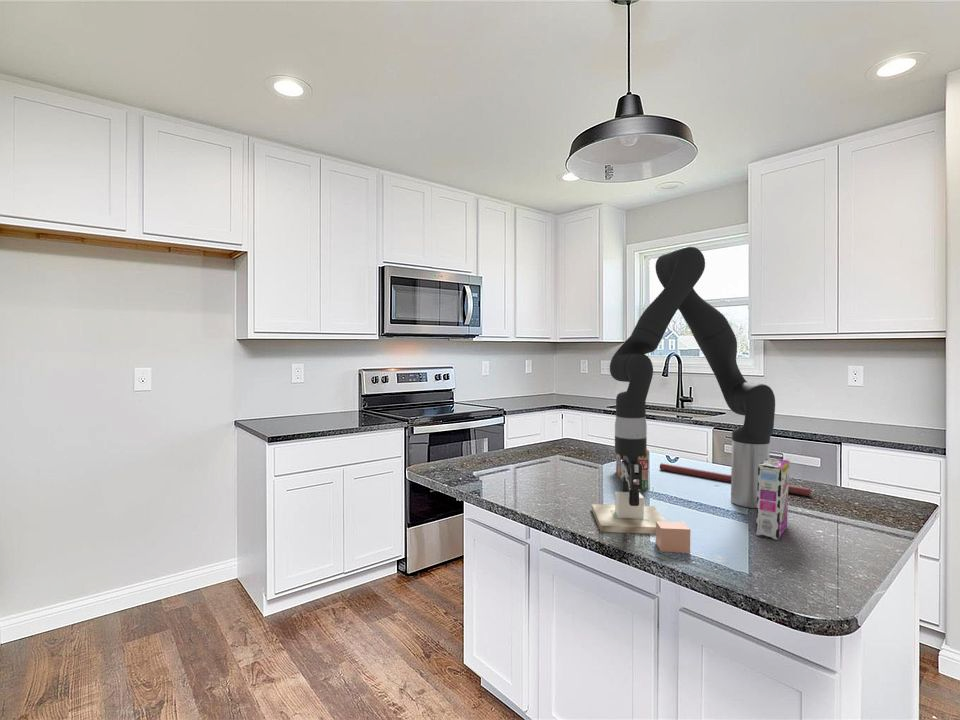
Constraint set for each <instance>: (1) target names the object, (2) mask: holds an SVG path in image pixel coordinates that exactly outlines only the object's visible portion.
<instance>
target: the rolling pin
mask: <svg viewBox="0 0 960 720" xmlns="http://www.w3.org/2000/svg"><path fill="white" fill-rule="evenodd" d="M659 470H661V471H666V472H670V473H677V474H683V475H687V476H688V475H689V476H694V477H698V478H699V477H700V478H704V479H705V478H706V479H710V480H711V479H712V480H716V481H721V482H727V483H731V474H727V473H723V472H722V473H721V472H714V471H709V470H703V469H698V468H691V467H685V466H680V465H673V464H669V463H668V464H667V463H662V462H661V463H660V464H659ZM788 494H795V495H801V496H805V497H810V496H811V495H812V489H811V488H809V487H803V486H798V485H791V484H789V486H788Z"/></svg>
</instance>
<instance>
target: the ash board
mask: <svg viewBox="0 0 960 720" xmlns="http://www.w3.org/2000/svg"><path fill="white" fill-rule="evenodd" d="M591 511H592V513H593V517H594V518H595V520H596V523H597V526H598V528H599V531H600V532H601V533H626V534H627V533H629V534H651V535H653V534H655V535H656V521H666V522H668V521H667V520H666V519H665V518H664V517H663V516H662V513H660V511H659V510H658V509H657V507H656V506H654V505H644V518H618V516H617V514H616V512H615V504H601V503H600V504H599V503H598V504H596V503H595V504H591Z"/></svg>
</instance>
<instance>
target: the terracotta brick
mask: <svg viewBox="0 0 960 720" xmlns="http://www.w3.org/2000/svg"><path fill="white" fill-rule="evenodd" d="M666 521H667V520H666ZM666 521H656V534H655V544H656V546H657V548H658V549H659V551H660V552H668V553H669V552H670V553H687V554H688V553H689V554H690V553H691V528H690V527H689V526H688V525H687V523H685V521H667V522H666Z"/></svg>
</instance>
